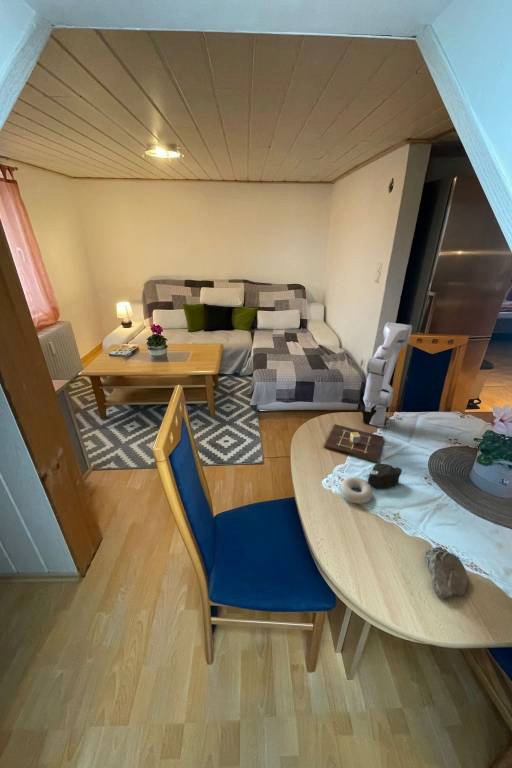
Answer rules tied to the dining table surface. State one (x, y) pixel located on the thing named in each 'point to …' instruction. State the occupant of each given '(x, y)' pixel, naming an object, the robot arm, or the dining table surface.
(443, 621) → the dining table surface
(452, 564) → the brown rock
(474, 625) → the dining table surface
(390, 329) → the robot arm
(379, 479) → the mineral
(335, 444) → the board
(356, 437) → the alphabet block
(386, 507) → the dining table surface
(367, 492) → the donut
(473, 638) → the dining table surface
